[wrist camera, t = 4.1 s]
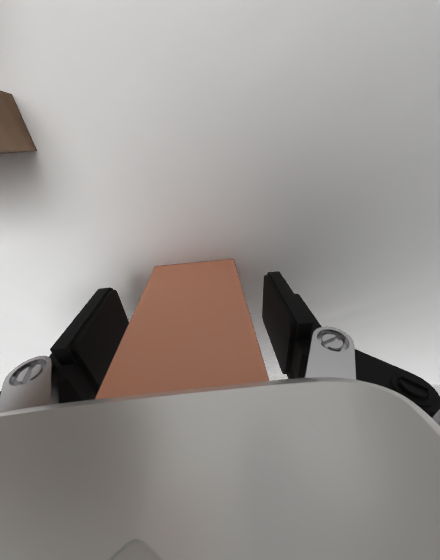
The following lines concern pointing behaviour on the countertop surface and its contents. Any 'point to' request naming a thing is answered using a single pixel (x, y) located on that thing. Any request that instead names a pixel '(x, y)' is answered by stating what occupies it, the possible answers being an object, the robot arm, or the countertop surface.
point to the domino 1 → (13, 127)
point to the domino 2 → (187, 334)
